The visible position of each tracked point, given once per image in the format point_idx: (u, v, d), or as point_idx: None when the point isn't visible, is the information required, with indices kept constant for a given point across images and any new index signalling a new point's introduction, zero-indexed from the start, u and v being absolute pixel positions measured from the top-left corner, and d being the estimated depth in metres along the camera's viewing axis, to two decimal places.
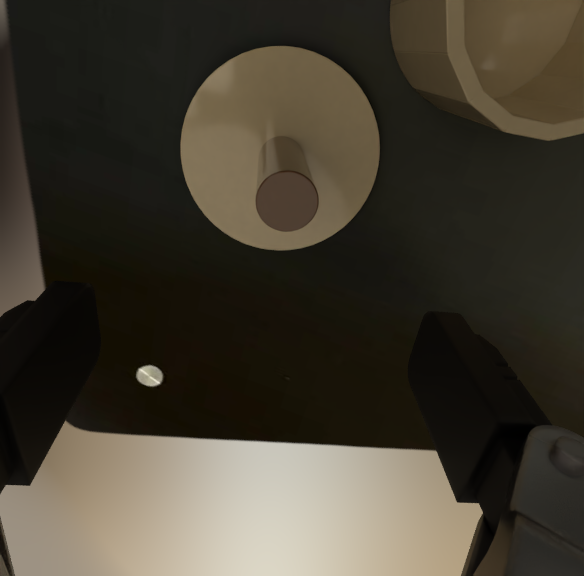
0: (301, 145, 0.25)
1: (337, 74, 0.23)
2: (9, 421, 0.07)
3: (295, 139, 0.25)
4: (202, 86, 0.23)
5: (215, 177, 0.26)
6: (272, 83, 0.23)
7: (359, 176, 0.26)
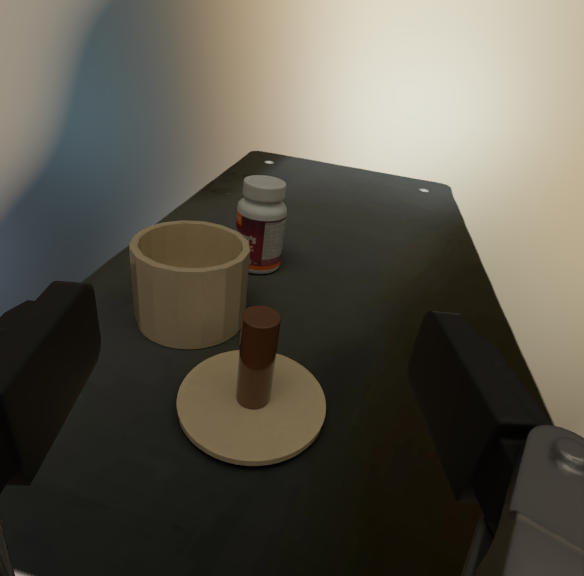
0: None
1: (205, 363, 0.37)
2: (9, 421, 0.07)
3: None
4: (189, 433, 0.31)
5: (259, 438, 0.31)
6: (200, 394, 0.34)
7: None
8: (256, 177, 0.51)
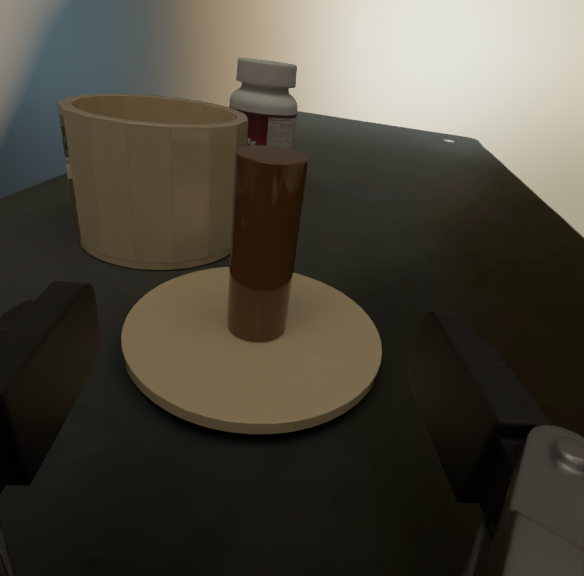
0: None
1: (177, 281, 0.23)
2: (9, 421, 0.07)
3: None
4: (139, 376, 0.16)
5: (270, 386, 0.17)
6: (166, 320, 0.20)
7: None
8: (255, 59, 0.38)
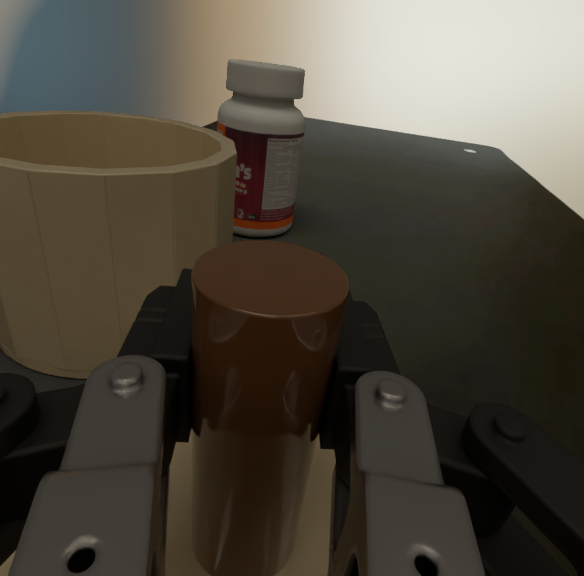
0: None
1: None
2: (188, 383, 0.08)
3: None
4: None
5: None
6: None
7: None
8: (250, 61, 0.29)
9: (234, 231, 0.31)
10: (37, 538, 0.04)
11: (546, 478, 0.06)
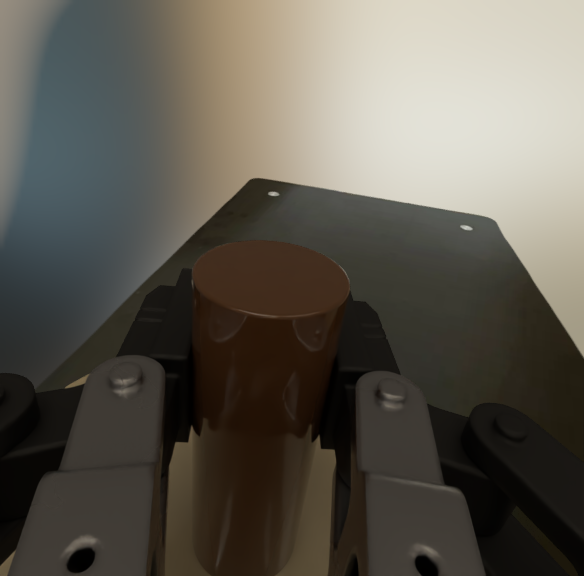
0: None
1: None
2: (187, 383, 0.08)
3: None
4: None
5: None
6: None
7: None
8: None
9: None
10: (36, 538, 0.04)
11: (546, 478, 0.06)
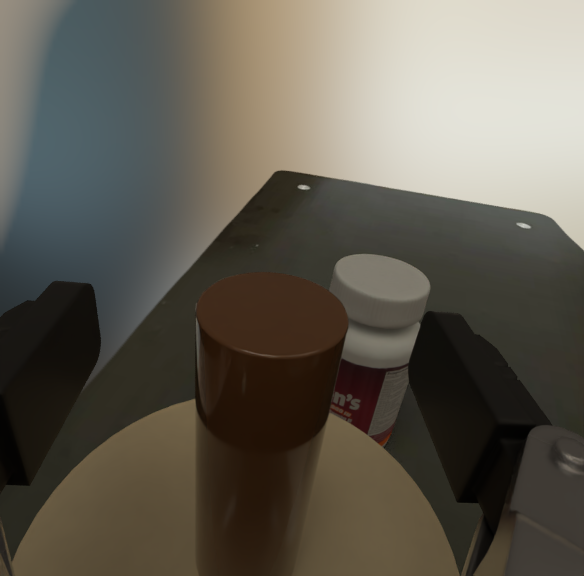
0: None
1: (123, 438, 0.14)
2: (9, 421, 0.07)
3: None
4: None
5: None
6: (88, 550, 0.11)
7: None
8: (358, 263, 0.23)
9: None
10: None
11: None
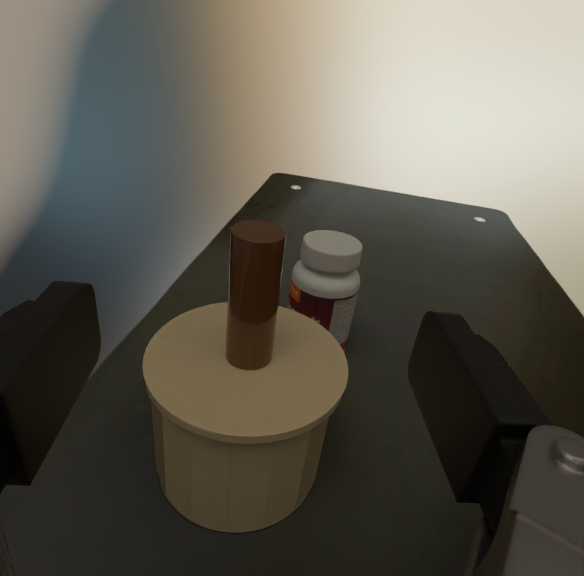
0: None
1: (185, 316, 0.28)
2: (9, 421, 0.07)
3: None
4: (158, 399, 0.21)
5: (257, 406, 0.22)
6: (176, 351, 0.25)
7: None
8: (318, 235, 0.37)
9: None
10: None
11: None
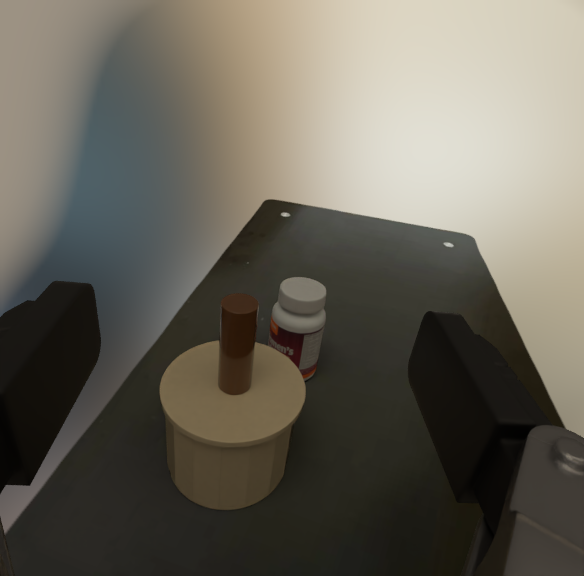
0: None
1: (189, 353, 0.38)
2: (9, 421, 0.07)
3: None
4: (171, 417, 0.32)
5: (239, 422, 0.32)
6: (183, 381, 0.35)
7: None
8: (292, 282, 0.47)
9: None
10: None
11: None
